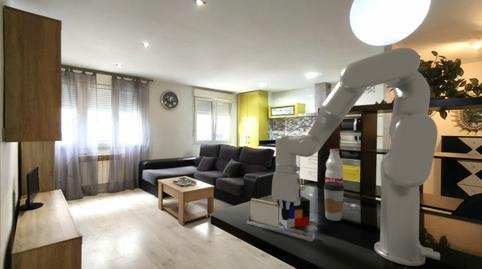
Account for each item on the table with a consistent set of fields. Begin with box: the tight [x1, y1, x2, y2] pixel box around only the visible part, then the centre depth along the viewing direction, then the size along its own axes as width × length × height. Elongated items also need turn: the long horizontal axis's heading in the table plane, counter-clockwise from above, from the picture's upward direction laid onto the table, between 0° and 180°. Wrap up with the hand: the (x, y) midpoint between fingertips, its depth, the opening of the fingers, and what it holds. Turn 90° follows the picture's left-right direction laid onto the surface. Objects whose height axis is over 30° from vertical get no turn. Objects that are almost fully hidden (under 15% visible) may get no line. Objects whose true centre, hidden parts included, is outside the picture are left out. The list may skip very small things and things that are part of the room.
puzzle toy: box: [275, 195, 311, 228], centre depth 94 cm, size 10×10×10 cm
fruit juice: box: [324, 148, 344, 185], centre depth 130 cm, size 9×9×28 cm
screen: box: [250, 198, 280, 227], centre depth 88 cm, size 12×1×8 cm, turn 56°
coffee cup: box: [323, 181, 345, 222], centre depth 98 cm, size 8×8×15 cm
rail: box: [246, 213, 316, 243], centre depth 85 cm, size 26×4×3 cm, turn 56°
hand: (285, 219), depth 83 cm, fingers closed
